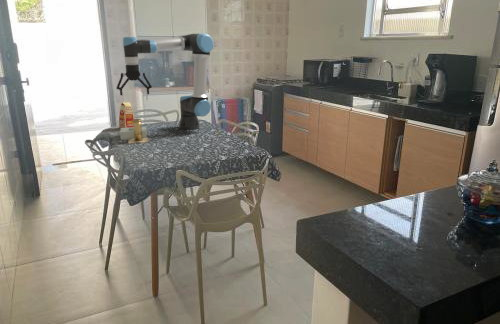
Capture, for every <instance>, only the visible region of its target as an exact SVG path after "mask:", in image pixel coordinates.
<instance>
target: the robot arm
mask: <svg viewBox="0 0 500 324" xmlns="http://www.w3.org/2000/svg"><path fill="white" fill-rule="evenodd" d="M214 45H215V44H214V40H213V38H212V36H211V35H210V34H207V33H204V32H202V33H201V32H200V33H189V34H184V35H178V36H177V37H167V38H165V37H164V38H151V39H137V37H136V36H124V37H123V39H122V46H123V54H124V63H125V73H123V72H121V73H120V78H119V80H118V83H117V86H116V90H119V93H120V96H122V101H124V102H126V100H125V90H124V87H125V86H126V84H127V83H128V82H129V81H138V82H140V84H142V86H143V87H145V96H146V97H145V98H146V101H148V97H149V96H148V95H150V89H152V85H151V83H150V81H149V80H148V78H147V76H146V72H144V71H142V72H140V65H139V54H154V53H156V52H160V51H161V52H164V51H165V52H166V51H175V50H177V51H178V50H179V51H181V52H183V51H185V52H187V51H188V52H191V53H192V54H191V55H192V56H193V57H194V59H193V61H194V62H193V63H194V64H193V90H192V91H193V93H192V94H191V95H182V96H180V97H179V106H180V107H179V108H180V118H179V122H178V129H181V130H190V131H191V130H197V129H200V128H201V123H200V121H199V118H198V117H201V118H202V117H206V116H208V115H209V113H210V112H211V109H212V105H211V103H210V101H209V96H208V95H207V80H208V77H207V76H208V58H209V57H210V55H211V52H212V50H213V49H214ZM125 76H126V77H127V78H126V79H125V80H124V82H123V84H122V85H121V83H122V81H123V78H124V77H125ZM140 76H142V78H143V79H144V80H145V82H144V81H143V80H142V79H141V77H140ZM120 85H121V86H120Z"/></svg>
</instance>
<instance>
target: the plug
mask: <svg viewBox="0 0 500 324" xmlns="http://www.w3.org/2000/svg"><path fill="white" fill-rule="evenodd" d="M142 127H143V126H142V119H141V118H135V119H133V128H134V138H135V141H142V140H143V138H142Z"/></svg>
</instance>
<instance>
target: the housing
mask: <svg viewBox="0 0 500 324" xmlns="http://www.w3.org/2000/svg"><path fill="white" fill-rule="evenodd" d="M141 127H142V138H148V132H147V126H141ZM119 130H120V131H119V135H120V136H119V137H120V140H121V141H124V140H129V139H135V138H134V128H133V127H132V128H121V129H119Z"/></svg>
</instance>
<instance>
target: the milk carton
mask: <svg viewBox="0 0 500 324" xmlns="http://www.w3.org/2000/svg"><path fill="white" fill-rule="evenodd" d="M121 102H122V103H121V104H120V108H119V118H118V129H119V128H120V129H119V130H121V128H132V127H133V119H136V118H135V114H134V110H133V107H132V104H131V101H123V100H122V101H121Z"/></svg>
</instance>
